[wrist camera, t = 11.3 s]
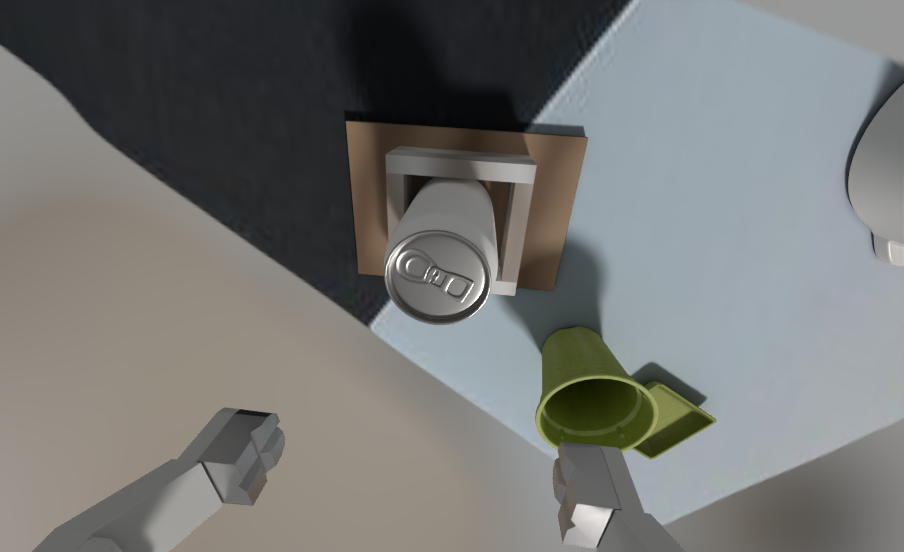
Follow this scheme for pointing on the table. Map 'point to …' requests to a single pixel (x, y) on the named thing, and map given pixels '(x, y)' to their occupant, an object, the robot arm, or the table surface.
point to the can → (443, 252)
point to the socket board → (469, 157)
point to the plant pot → (590, 394)
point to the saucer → (672, 421)
